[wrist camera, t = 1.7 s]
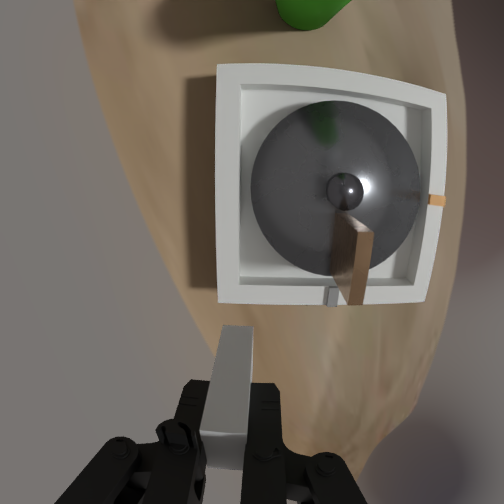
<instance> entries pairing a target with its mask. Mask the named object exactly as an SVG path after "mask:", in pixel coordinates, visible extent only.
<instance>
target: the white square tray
mask: <svg viewBox="0 0 504 504" xmlns="http://www.w3.org/2000/svg"><path fill="white" fill-rule="evenodd" d="M332 100H337V101H348V102H353V103H357V104H360V105H363V106H366V107H368V108H370V109H372V110H374V111H376V112H378V113H379V114H381V115H382V116H384V117H385V118H387V119H388V120H389V121H390V122H391V123H392V124H393V125H394V126H395V127H396V128H397V129H398V130H399V131H400V132H401V134H402V135H403V136H404V138H405V139H406V141H407V142H408V144H409V146H410V148H411V150H412V152H413V154H414V157H415V160H416V162H417V166H418V170H419V175H420V186H421V189H420V202H419V208H418V212H417V215H416V219H415V221H414V224H413V226H412V228H411V230H410V232H409V234H408V236H407V237H406V239H405V240H404V242H403V243H402V244H401V246H400V247H399V248H398V249H397V250H396V251H395V252H394V253H393V254H392V255H391V256H390V257H388V258H387V259H386V260H385V261H383V262H382V263H380V264H379V265H377V266H375V267H373V268H371V269H369V273H368V279H367V285H366V290H365V296H364V301H363V304H388V303H412V302H424V301H425V297H426V294H427V290H428V286H429V282H430V277H431V273H432V268H433V264H434V259H435V254H436V248H437V243H438V237H439V231H440V224H441V217H442V209H443V207H445V203H446V197H445V196H444V191H445V179H446V163H447V105H446V94H443V93H440V92H437V91H434V90H431V89H427V88H424V87H421V86H417V85H413V84H410V83H406V82H402V81H398V80H394V79H389V78H385V77H380V76H375V75H370V74H365V73H359V72H353V71H347V70H340V69H332V68H324V67H315V66H304V65H289V64H263V63H240V64H217V80H216V123H215V215H216V260H217V289H218V303H238V304H276V305H327V307H337V305H347V303H346V301H345V299H344V297H343V296H342V294H341V292H340V290H339V288H338V286H337V284H336V283H335V281H334V279H333V277H332V276H323V275H318V274H313V273H311V272H308V271H305V270H302V269H301V268H299V267H297V266H295V265H293V264H291V263H290V262H288V261H287V260H286V259H284V258H283V257H282V256H281V255H280V254H279V253H277V252H276V251H275V249H274V248H273V247H272V246H271V245H270V244H269V242H268V241H267V239H266V238H265V236H264V235H263V233H262V231H261V229H260V227H259V225H258V223H257V220H256V217H255V214H254V211H253V206H252V201H251V174H252V170H253V165H254V161H255V159H256V156H257V153H258V151H259V149H260V147H261V145H262V143H263V141H264V140H265V138H266V137H267V135H268V134H269V133H270V131H271V130H272V129H273V128H274V127H275V126H276V125H277V124H278V123H279V122H280V121H281V120H282V119H284V118H285V117H286V116H287V115H289V114H290V113H292V112H294V111H296V110H297V109H299V108H302V107H304V106H307V105H309V104H313V103H317V102H321V101H332Z"/></svg>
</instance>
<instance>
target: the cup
mask: <svg viewBox="0 0 504 504" xmlns="http://www.w3.org/2000/svg"><path fill="white" fill-rule="evenodd" d="M275 1H276V5H277V8H278V12H279V15H280V17H281V18H282V19H283V20H284V21H285V22H286V23H287V24H288V25H290V26H292V27H294V28H297V29H301V30H314V29H318V28H320V27H322V26H323V25H325V24H326V23H327V22H328V21H329V20H330V19H331V18H332V17H333V16H334V15H336V14H337V13H338V12H339V11H340V10H341V9H342V8H343V7H344V6H346V5H347V4H348V3H349V2H350V1H351V0H275Z"/></svg>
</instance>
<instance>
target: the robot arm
mask: <svg viewBox="0 0 504 504" xmlns="http://www.w3.org/2000/svg"><path fill="white" fill-rule="evenodd" d="M252 368H253V326H231V325H223V327H222V332H221V336H220V340H219V345H218V349H217V354H216V358H215V362H214V367H213V372H212V376H211V380H210V381H202V380H192V379H191V380H190V381H189V382H188V383H187V384H186V385H185V386H184V388H183V391H182V394H181V398H180V400H179V405H178V407H177V410H176V413H175V416H174V419H169V420H166V421H164V422H162V423H161V424H159V425H158V427H157V428H156V433H157V436H158V438H159V441H158V442H155V443H146V444H136V443H135V442H134V441H133V440H131V439H130V438H126V437H115V438H112V439H110V440H109V441H107V442H106V443H105V445H104V446H103V447H102V448H101V449H100V451H99V452H98V453H97V454H96V455H95V456H94V458H93V459H92V460H91V461H90V462H89V463H88V465H87V466H86V467H85V468H84V469H83V471H82V472H81V473H80V474H79V476H77V478H76V479H75V480H74V481H73V482H72V484H71V485H70V486H69V487H68V488H67V489H66V491H65V492H64V493H63V494H62V495H61V496H60V498H59V499H58V500H57V501H56V502H55V503H54V504H202V501H203V495H204V489H205V483H206V475H205V469H206V463H207V467H208V468H217V469H230V470H243V477H242V490H241V502H240V504H287V502H286V499H289V500H293V501H297V503H298V504H367V502H366V500H365V498H364V496H363V494H362V493H361V491H360V489H359V487H358V486H357V484H356V482H355V480H354V478H353V476H352V474H351V472H350V471H349V469H348V467H347V465H346V463H345V461H344V460H343V459H342V458H341V457H340V456H338V455H336V454H335V453H330V452H323V453H318V454H316V455H314V456H312V457H310V456H305V455H300V454H297V453H294V452H292V451H291V450H289V449H288V448H287V447H286V446H285V444H284V443H283V439H282V425H281V405H280V391H279V390H278V388H277V387H276V385H275V384H274V383H252Z"/></svg>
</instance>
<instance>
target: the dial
mask: <svg viewBox="0 0 504 504" xmlns="http://www.w3.org/2000/svg"><path fill="white" fill-rule="evenodd" d="M420 189H421V186H420V175H419V170H418V166H417V162H416V160H415V157H414V154H413V152H412V150H411V148H410V146H409V144H408V142H407V141H406V139H405V138H404V136H403V135H402V134H401V132H400V131H399V130H398V129H397V128H396V127H395V126H394V125H393V124H392V123H391V122H390V121H389V120H388V119H387V118H385V117H384V116H382V115H381V114H379V113H378V112H376V111H374V110H372V109H370V108H368V107H366V106H363V105H360V104H357V103H353V102H348V101H337V100H332V101H321V102H317V103H313V104H309V105H307V106H304V107H302V108H299V109H297V110H296V111H294V112H292V113H290V114H289V115H287V116H286V117H285V118H284V119H282V120H281V121H280V122H279V123H278V124H277V125H276V126H275V127H274V128H273V129H272V130H271V131H270V133H269V134H268V135H267V137H266V138H265V140H264V141H263V143H262V145H261V147H260V149H259V151H258V153H257V156H256V159H255V161H254V165H253V170H252V174H251V201H252V206H253V211H254V214H255V217H256V220H257V223H258V225H259V227H260V229H261V231H262V233H263V235H264V236H265V238H266V239H267V241H268V242H269V244H270V245H271V246H272V247H273V248H274V249H275V251H276V252H277V253H279V254H280V255H281V256H282V257H283V258H284V259H286V260H287V261H288V262H290V263H291V264H293V265H295V266H297V267H299V268H301V269H302V270H305V271H308V272H311V273H313V274H318V275H323V276H332V277H333V279H334V281H335V283H336V284H337V286H338V288H339V290H340V292H341V294H342V296H343V297H344V299H345V301H346V303H347V305H363V301H364V296H365V290H366V285H367V279H368V273H369V269H371V268H373V267H375V266H377V265H379V264H380V263H382V262H383V261H385V260H386V259H387V258H388V257H390V256H391V255H392V254H393V253H394V252H395V251H396V250H397V249H398V248H399V247H400V246H401V244H402V243H403V242H404V240H405V239H406V237H407V236H408V234H409V232H410V230H411V228H412V226H413V224H414V221H415V219H416V215H417V212H418V208H419V202H420Z"/></svg>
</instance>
